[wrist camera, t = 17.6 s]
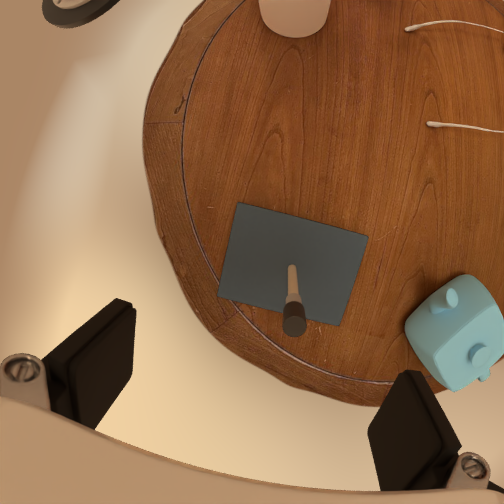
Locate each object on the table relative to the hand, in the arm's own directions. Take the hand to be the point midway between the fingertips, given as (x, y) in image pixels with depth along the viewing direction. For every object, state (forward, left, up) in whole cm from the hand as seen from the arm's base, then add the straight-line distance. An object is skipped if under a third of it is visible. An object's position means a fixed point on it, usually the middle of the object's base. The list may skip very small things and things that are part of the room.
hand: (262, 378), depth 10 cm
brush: (+3, -4, -28) cm, 29 cm away
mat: (+2, -4, -29) cm, 29 cm away
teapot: (+24, -5, -29) cm, 38 cm away
